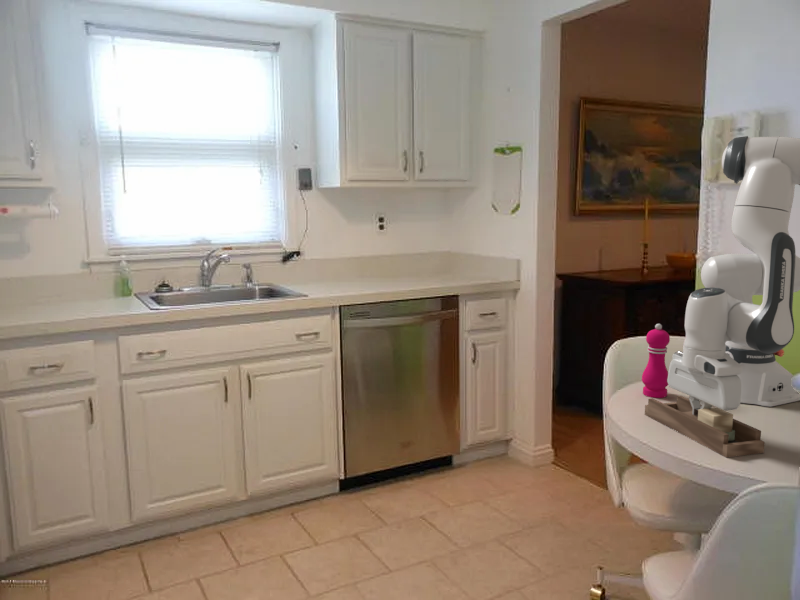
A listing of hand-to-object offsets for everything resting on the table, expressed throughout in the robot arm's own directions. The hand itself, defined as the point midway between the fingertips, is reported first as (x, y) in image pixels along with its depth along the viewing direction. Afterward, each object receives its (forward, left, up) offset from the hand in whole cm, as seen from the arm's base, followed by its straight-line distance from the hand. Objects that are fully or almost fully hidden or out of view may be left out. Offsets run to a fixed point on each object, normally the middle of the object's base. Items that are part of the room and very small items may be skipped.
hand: (699, 416), depth 151 cm
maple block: (0, +5, -1) cm, 5 cm away
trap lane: (0, 0, -4) cm, 4 cm away
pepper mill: (-8, -28, -4) cm, 29 cm away
